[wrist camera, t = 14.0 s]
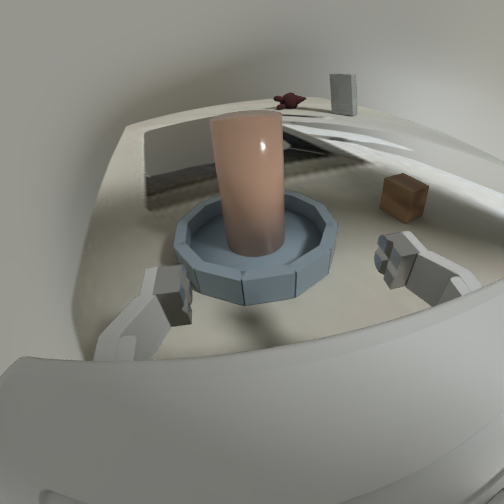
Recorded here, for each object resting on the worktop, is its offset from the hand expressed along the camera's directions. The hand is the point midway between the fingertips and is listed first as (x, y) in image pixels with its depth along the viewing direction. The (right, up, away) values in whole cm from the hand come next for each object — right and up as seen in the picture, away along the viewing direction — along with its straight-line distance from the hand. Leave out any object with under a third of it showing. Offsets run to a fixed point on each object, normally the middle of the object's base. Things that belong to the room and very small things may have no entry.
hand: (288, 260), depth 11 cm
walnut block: (+16, +5, +18) cm, 25 cm away
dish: (-1, +1, +14) cm, 14 cm away
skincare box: (+31, +49, +73) cm, 93 cm away
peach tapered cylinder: (-1, +2, +14) cm, 14 cm away
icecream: (+14, +56, +84) cm, 102 cm away
